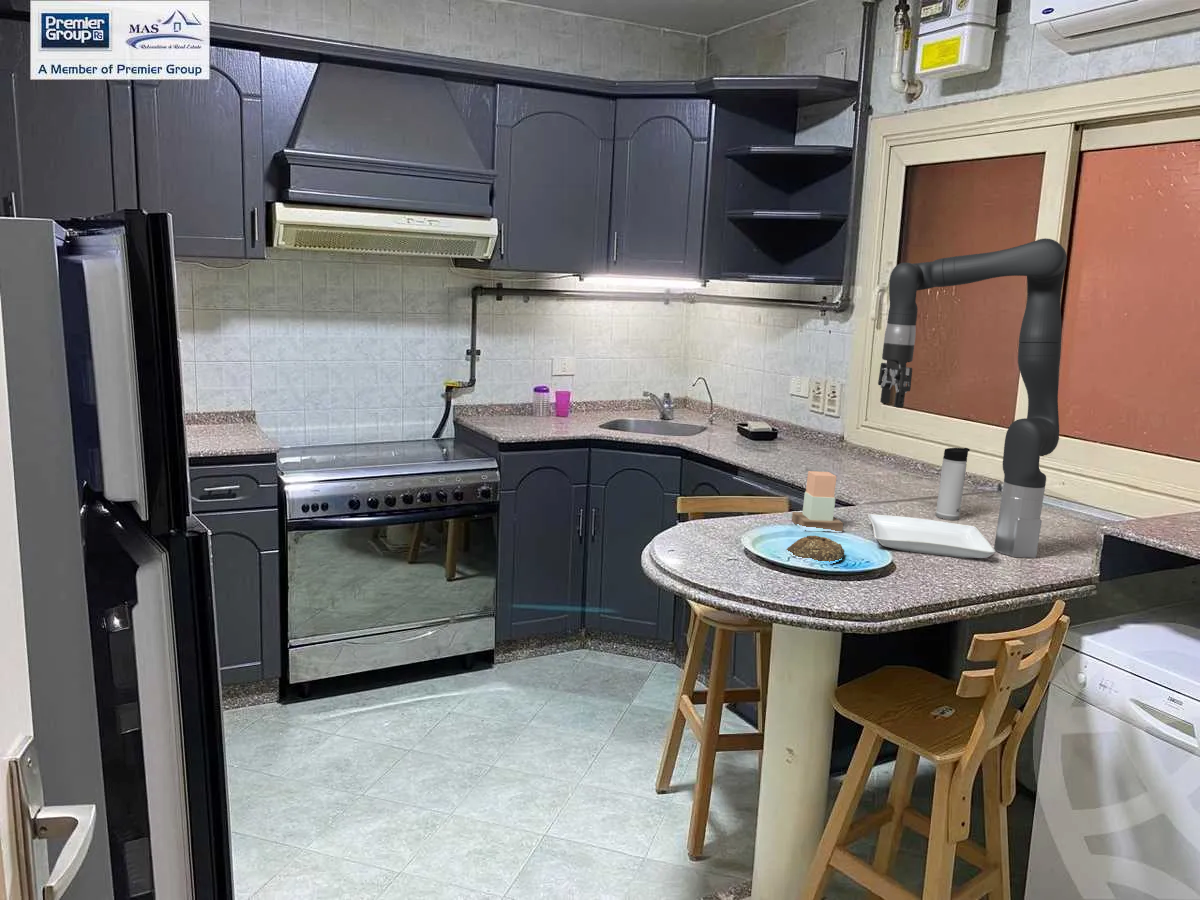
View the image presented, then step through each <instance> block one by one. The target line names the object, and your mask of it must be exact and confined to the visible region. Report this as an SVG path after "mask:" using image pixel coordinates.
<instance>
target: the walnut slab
mask: <svg viewBox="0 0 1200 900" xmlns="http://www.w3.org/2000/svg"><path fill="white" fill-rule="evenodd" d="M791 513H792V515H791V522H792V523H795V524H794V525H796V524H799V525H802V526H806V527H816V528H823V529H831V530H835V531H842V532H843V528H844V522H842V521H841V520H840V519H838V518H837V517H835V516H834V515H833V521H824V520H810V519H808V518H807V517H806V516H804V515H803V514H802V513H803V511H802V512H801V511H792V512H791Z"/></svg>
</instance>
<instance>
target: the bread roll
mask: <svg viewBox="0 0 1200 900" xmlns="http://www.w3.org/2000/svg"><path fill="white" fill-rule="evenodd" d="M786 550H788V551H790V552H792V553H793V555H795V556H798V557H802V558H812V559H814V560H818V561H829V562H830V561H835V560H839V559H841V558H842V557H843V558H844V556H845V549H844V548H843V546H842V544H841V543H838V542H836V541H834V540H832V539H831V538H828V537H824V536H822V537H821V536H819V535H807V536H804V537H801V538H800V539H798V540H796V541H794V542H793V543H791V545H789V546H788V547H787V548H786ZM843 555H844V556H843Z"/></svg>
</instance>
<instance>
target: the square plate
mask: <svg viewBox="0 0 1200 900" xmlns="http://www.w3.org/2000/svg"><path fill="white" fill-rule="evenodd" d="M867 518H868V520H869V521H870V523H871V525H872V530H873V536H874V538H875V539H876V540H877V541H878V543H879V544H880V545H882V546H883V547H886V548H891V549H894V550H896V551H897V550H898V551H903V552H909V551H910V552H911V553H919V554H927V555H935V556H936V555H937V556H945V557H951V558H962V559H974V558H975V559H986V558H989V557H990V556H993V555H994V554H996V551H995V550H994V546H993V545H991V543H990V542H989V541H988V539H987V538H986V537H985V536H984V535H983V533H982V532H981V531H980V530H979V529H978V528H977V527H976V526H973V525H970V524H969V525H967V524H961V523H960V524H959V523H954V522H947V521H941V520H935V519H927V518H920V517H912V516H911V517H909V516H901V515H888V514H887V515H886V514H877V513H876V514H875V513H874V514H873V513H868V514H867Z"/></svg>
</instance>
